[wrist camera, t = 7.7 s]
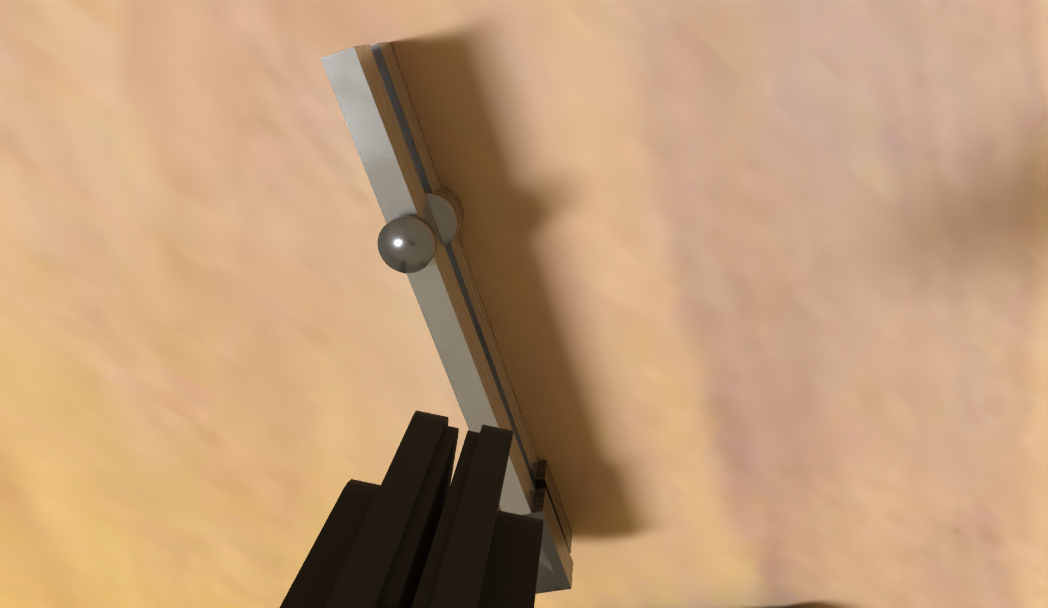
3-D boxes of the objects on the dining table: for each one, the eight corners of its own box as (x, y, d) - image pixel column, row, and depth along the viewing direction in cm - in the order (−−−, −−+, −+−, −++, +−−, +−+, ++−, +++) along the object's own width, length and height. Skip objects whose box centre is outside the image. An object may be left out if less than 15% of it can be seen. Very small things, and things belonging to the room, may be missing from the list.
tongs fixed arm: (345, 57, 23) (328, 59, 21) (403, 37, 22) (389, 38, 21) (527, 539, 30) (523, 564, 29) (574, 532, 30) (572, 557, 28)
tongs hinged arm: (325, 60, 21) (298, 64, 19) (382, 40, 20) (360, 42, 19) (528, 569, 28) (522, 607, 27) (573, 562, 28) (570, 600, 26)
